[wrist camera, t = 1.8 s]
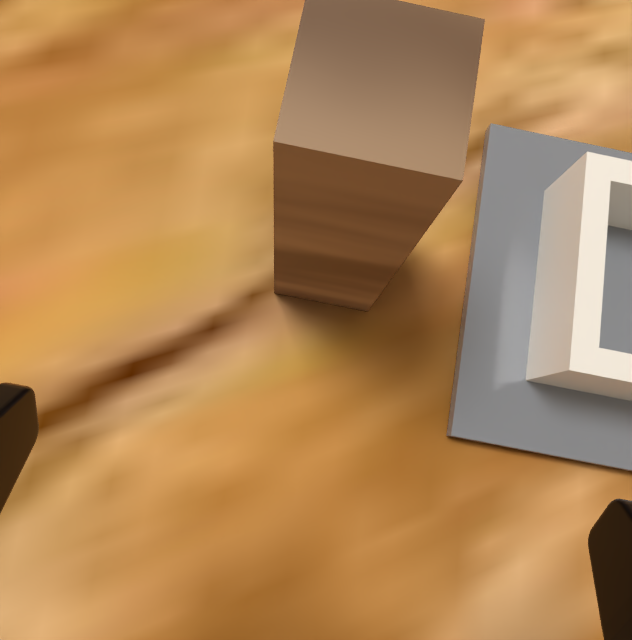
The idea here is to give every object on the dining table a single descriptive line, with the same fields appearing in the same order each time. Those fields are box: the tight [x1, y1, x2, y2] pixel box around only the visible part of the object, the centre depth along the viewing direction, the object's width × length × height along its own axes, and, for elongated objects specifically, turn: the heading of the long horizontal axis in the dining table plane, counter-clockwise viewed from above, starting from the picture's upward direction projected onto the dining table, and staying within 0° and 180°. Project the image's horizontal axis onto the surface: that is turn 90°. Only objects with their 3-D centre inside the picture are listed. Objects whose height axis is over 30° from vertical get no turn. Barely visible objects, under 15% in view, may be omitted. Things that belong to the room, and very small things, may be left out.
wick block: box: [273, 0, 485, 311], centre depth 18 cm, size 4×4×12 cm
